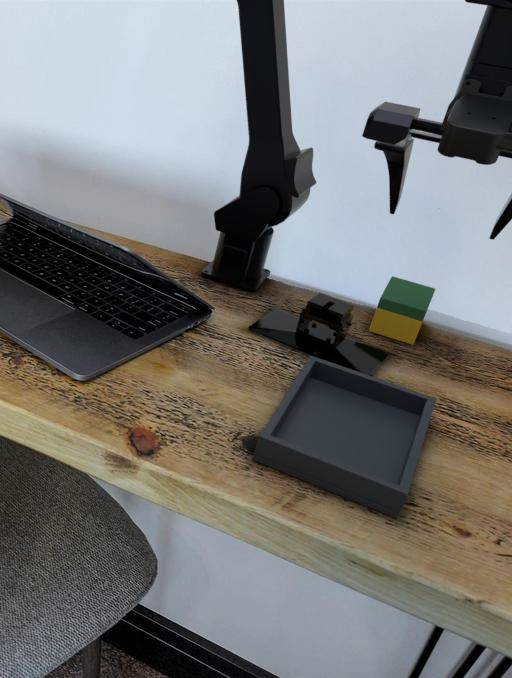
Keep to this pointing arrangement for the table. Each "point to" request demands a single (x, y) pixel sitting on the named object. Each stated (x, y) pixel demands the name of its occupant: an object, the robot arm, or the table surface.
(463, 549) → the table surface
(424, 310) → the sponge
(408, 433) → the tray
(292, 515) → the table surface
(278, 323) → the black mechanical part
